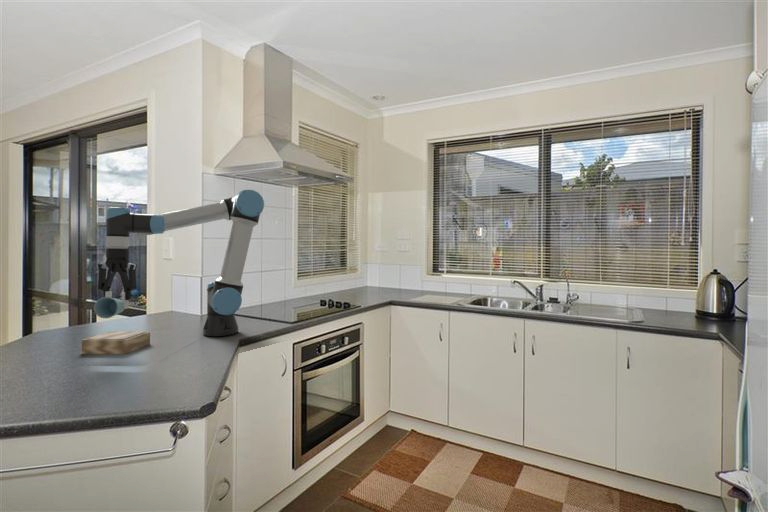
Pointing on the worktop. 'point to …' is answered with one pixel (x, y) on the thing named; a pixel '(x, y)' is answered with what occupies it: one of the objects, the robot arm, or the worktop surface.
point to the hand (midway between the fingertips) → (116, 308)
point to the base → (115, 342)
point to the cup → (108, 307)
